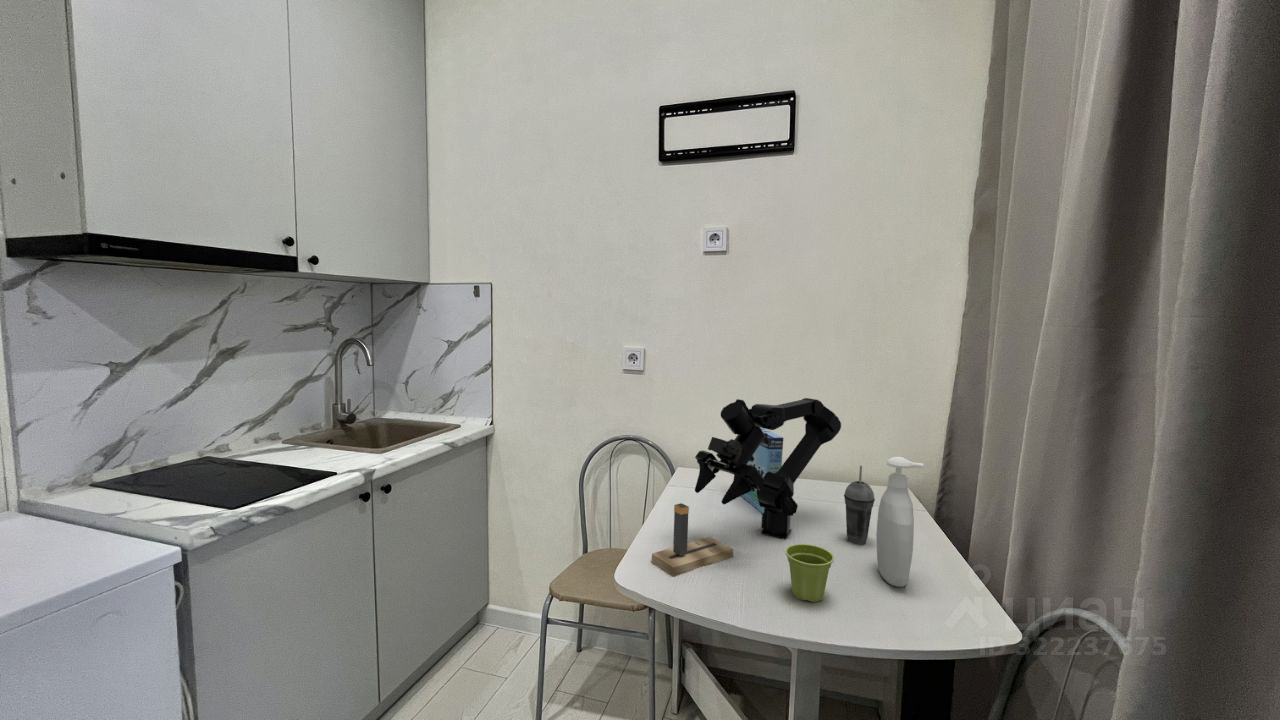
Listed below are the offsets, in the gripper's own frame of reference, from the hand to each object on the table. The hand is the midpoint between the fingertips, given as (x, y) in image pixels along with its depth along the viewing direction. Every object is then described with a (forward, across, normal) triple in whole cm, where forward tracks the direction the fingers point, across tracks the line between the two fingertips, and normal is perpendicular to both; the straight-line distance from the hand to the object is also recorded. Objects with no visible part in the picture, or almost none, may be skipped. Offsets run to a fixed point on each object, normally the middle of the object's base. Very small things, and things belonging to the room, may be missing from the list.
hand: (708, 497), depth 122 cm
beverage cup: (-18, +15, +37) cm, 43 cm away
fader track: (+13, 0, +7) cm, 15 cm away
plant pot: (+6, +24, +14) cm, 29 cm away
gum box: (-17, -18, +36) cm, 44 cm away
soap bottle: (-10, +30, +30) cm, 44 cm away
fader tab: (+14, 0, +2) cm, 14 cm away
